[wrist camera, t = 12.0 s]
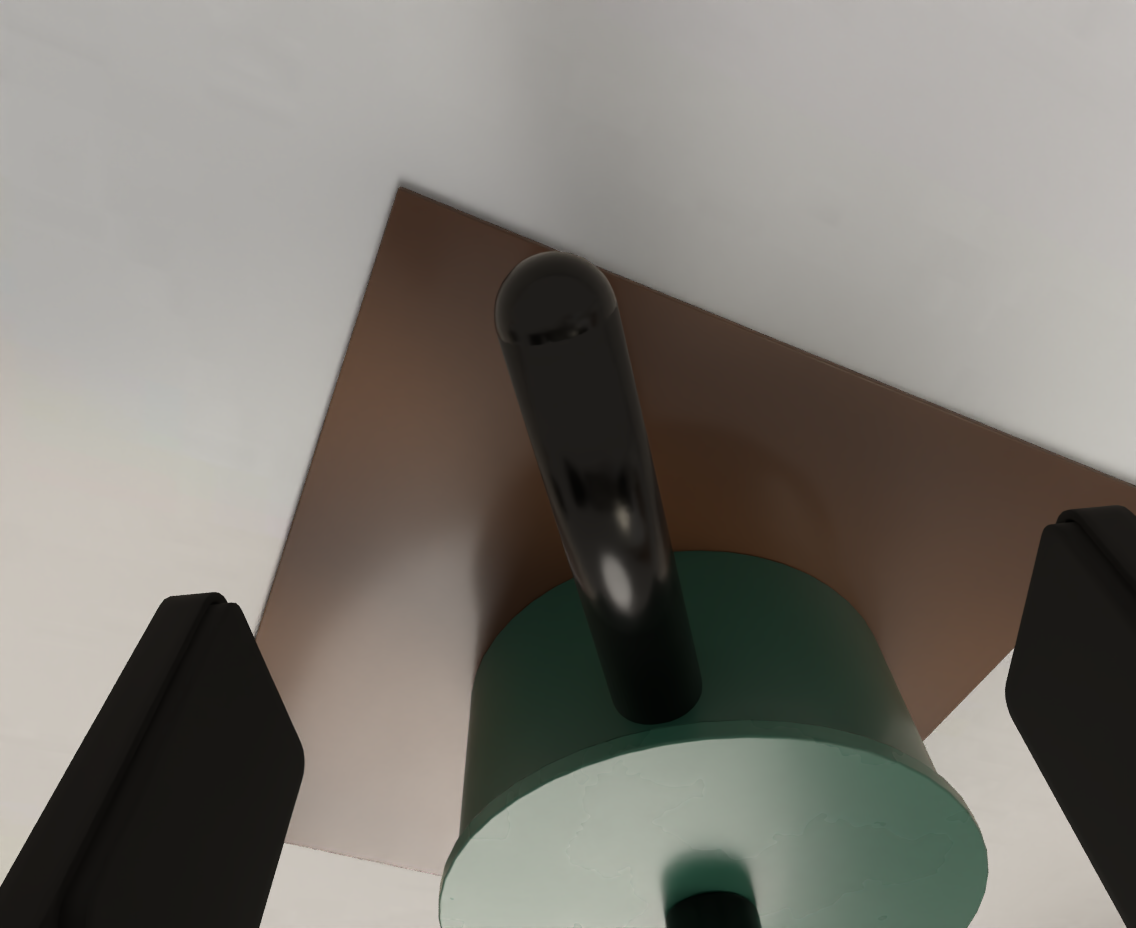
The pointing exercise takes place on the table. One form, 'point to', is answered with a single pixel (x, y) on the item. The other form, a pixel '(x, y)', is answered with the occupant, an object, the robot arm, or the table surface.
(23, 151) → the table surface
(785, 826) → the saucepan
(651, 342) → the trivet
